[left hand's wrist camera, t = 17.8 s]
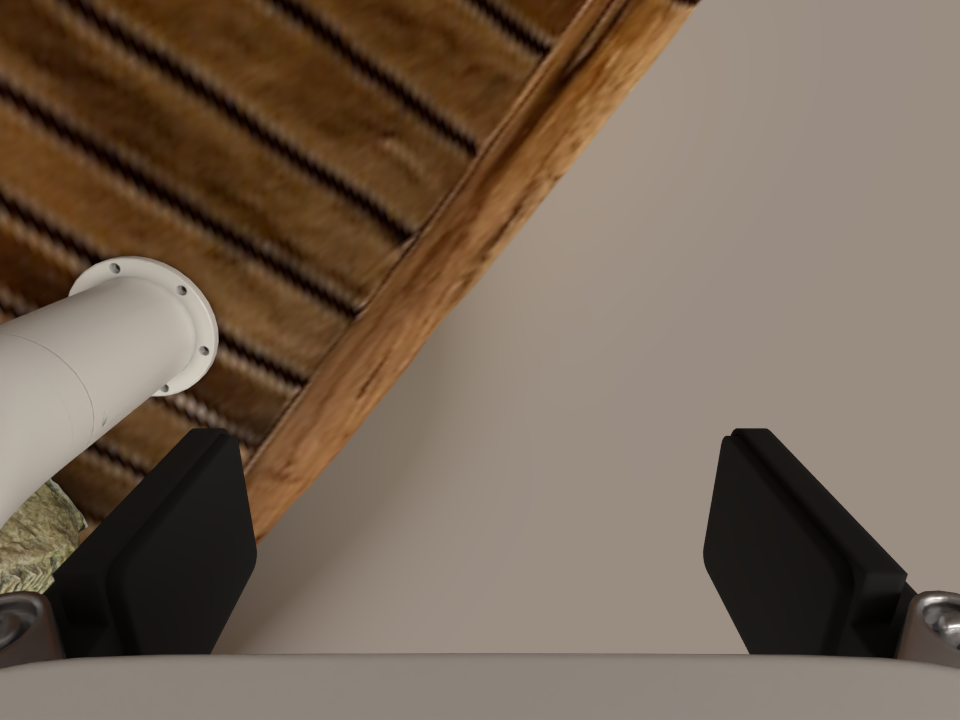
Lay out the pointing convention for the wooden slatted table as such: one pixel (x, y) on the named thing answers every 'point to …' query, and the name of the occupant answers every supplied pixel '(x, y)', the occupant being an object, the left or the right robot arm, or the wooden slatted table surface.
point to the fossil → (38, 539)
